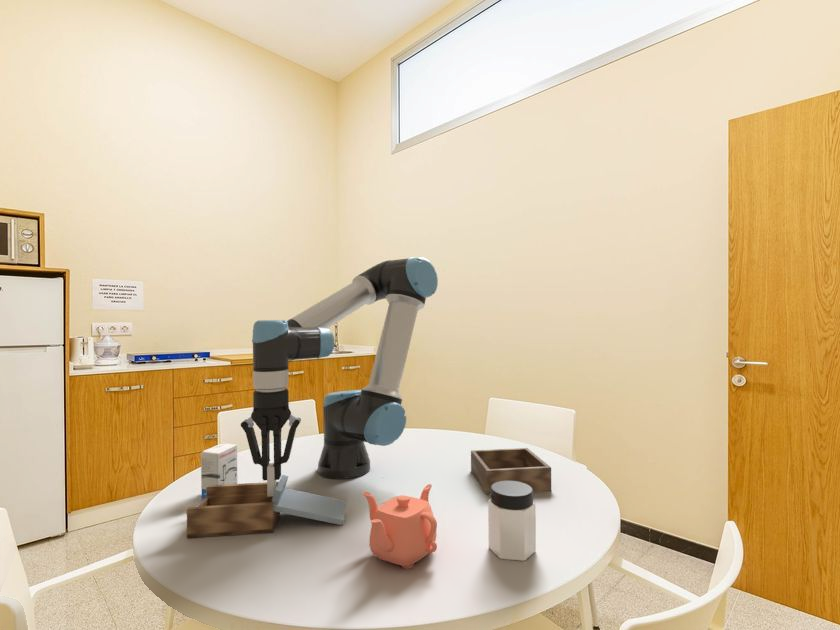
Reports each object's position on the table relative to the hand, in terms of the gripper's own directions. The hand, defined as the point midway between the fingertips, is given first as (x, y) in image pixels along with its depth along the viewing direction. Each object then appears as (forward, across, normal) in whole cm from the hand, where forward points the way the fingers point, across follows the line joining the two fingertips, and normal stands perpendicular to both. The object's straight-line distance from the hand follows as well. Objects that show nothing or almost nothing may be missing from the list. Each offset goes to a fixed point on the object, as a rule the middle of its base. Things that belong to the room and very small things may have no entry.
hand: (272, 493), depth 102 cm
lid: (+4, -8, 0) cm, 9 cm away
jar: (+6, -49, +20) cm, 53 cm away
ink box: (+6, +16, -17) cm, 24 cm away
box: (+6, +7, 0) cm, 9 cm away
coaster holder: (+6, -60, -15) cm, 62 cm away
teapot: (+6, -27, +18) cm, 33 cm away
